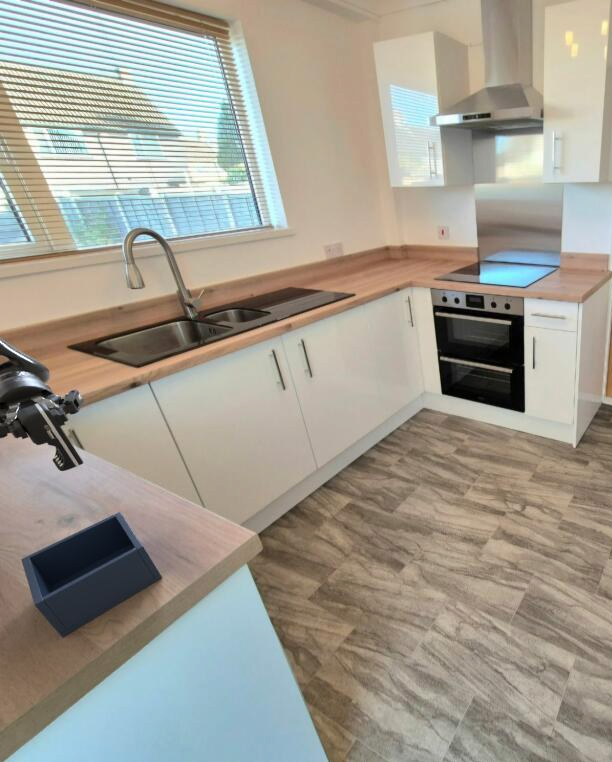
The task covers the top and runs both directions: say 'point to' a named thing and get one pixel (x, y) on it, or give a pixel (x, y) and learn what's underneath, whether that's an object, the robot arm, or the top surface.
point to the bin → (88, 573)
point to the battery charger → (49, 435)
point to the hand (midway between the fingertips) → (41, 426)
